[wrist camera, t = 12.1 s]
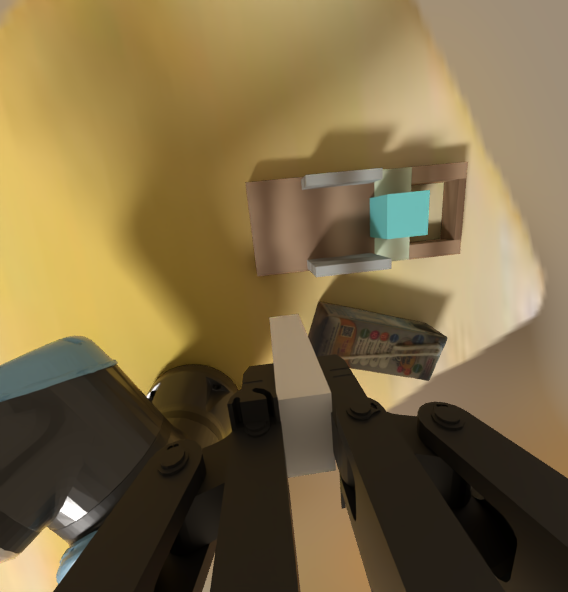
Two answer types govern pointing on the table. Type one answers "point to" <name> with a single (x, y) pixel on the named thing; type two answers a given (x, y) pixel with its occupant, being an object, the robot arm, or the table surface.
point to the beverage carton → (376, 341)
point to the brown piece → (345, 220)
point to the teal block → (399, 215)
